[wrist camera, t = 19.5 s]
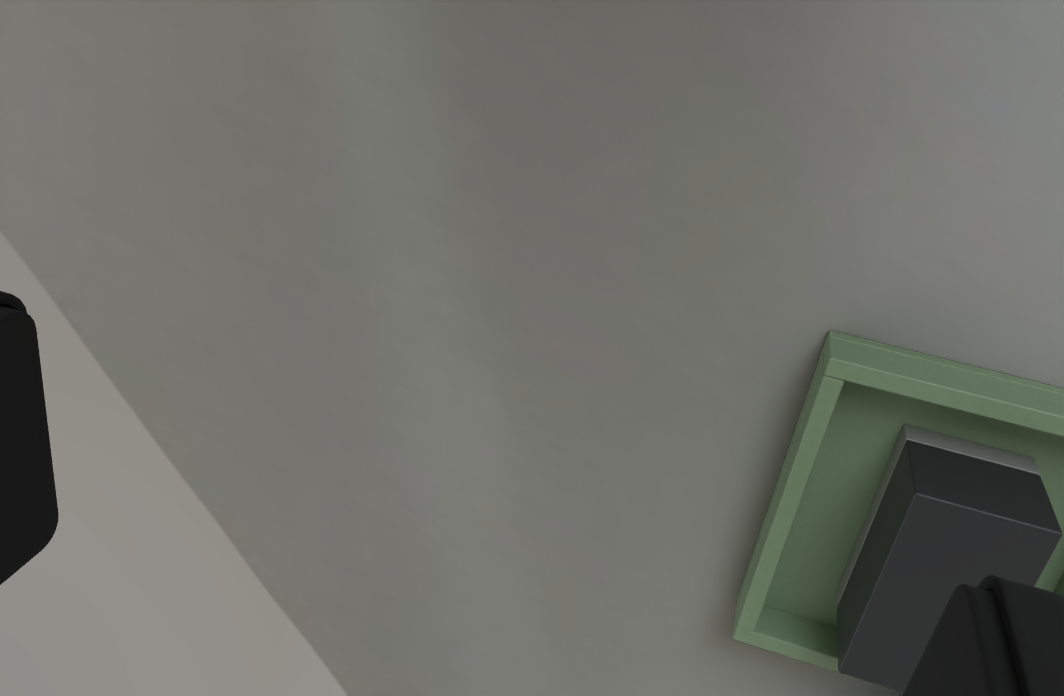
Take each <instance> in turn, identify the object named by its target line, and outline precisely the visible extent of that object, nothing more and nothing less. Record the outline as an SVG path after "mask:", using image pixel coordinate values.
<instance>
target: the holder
mask: <svg viewBox="0 0 1064 696" xmlns="http://www.w3.org/2000/svg"><path fill="white" fill-rule="evenodd" d="M904 424H907V425H911V426H914V427H918V428H922V429H926V430H930V431H934V432H937V433H941V434H945V435H949V436H953V437H956V438H960V439H964V440H968V441H972V442H975V443H979V444H983V445H987V446H991V447H994V448H998V449H1002V450H1006V451H1010V452H1013V453H1017V454H1021V455H1025V456H1029V457H1032V458H1034V459H1035V462H1036V464H1037V467H1038V469H1039V472H1040V476H1041V479H1042V481H1043V484H1044V486H1045V489H1046V492H1047V494H1048V497H1049V499H1050V502H1051V504H1052V507H1053V510H1054V512H1055V515H1056V517H1057V520H1058V522H1059V525H1060V528H1061V530H1062V533H1063V535H1062V537H1061V539H1060V540H1059V542H1058V544H1057V546H1056V548H1055V550H1054V551H1053V553H1052V555H1051V557H1050V559H1049V561H1048V563H1047V564H1046V566H1045V568H1044V570H1043V572H1042V574H1041V575H1040V577H1039V579H1038V581H1037V583H1036V585H1035V587H1037V588H1040V589H1044V590H1047V591H1051V592H1054V593H1058V594H1059V595H1061V596H1062V597H1064V389H1063V388H1059V387H1055V386H1051V385H1047V384H1043V383H1039V382H1035V381H1031V380H1027V379H1023V378H1019V377H1015V376H1011V375H1007V374H1003V373H999V372H995V371H991V370H987V369H983V368H979V367H975V366H971V365H967V364H963V363H959V362H955V361H951V360H947V359H943V358H939V357H935V356H931V355H927V354H923V353H919V352H915V351H911V350H907V349H903V348H899V347H895V346H891V345H887V344H883V343H879V342H875V341H871V340H867V339H863V338H859V337H855V336H851V335H847V334H843V333H839V332H835V331H829V332H828V335H827V338H826V341H825V344H824V347H823V349H822V352H821V355H820V358H819V361H818V364H817V367H816V370H815V373H814V376H813V379H812V382H811V385H810V388H809V391H808V393H807V396H806V399H805V402H804V405H803V408H802V411H801V414H800V417H799V420H798V423H797V426H796V429H795V432H794V434H793V437H792V440H791V443H790V446H789V449H788V452H787V455H786V458H785V461H784V464H783V467H782V470H781V473H780V475H779V478H778V481H777V484H776V487H775V490H774V493H773V496H772V499H771V502H770V505H769V508H768V511H767V514H766V517H765V519H764V522H763V525H762V528H761V531H760V534H759V537H758V540H757V543H756V546H755V549H754V552H753V555H752V558H751V560H750V563H749V566H748V569H747V572H746V575H745V578H744V581H743V584H742V587H741V590H740V593H739V596H738V599H737V602H736V611H735V619H734V628H733V639H734V640H737V641H740V642H743V643H746V644H750V645H753V646H756V647H759V648H762V649H766V650H769V651H772V652H775V653H778V654H782V655H785V656H788V657H791V658H794V659H798V660H801V661H804V662H807V663H810V664H814V665H817V666H820V667H823V668H826V669H830V670H833V671H836V672H839V671H838V642H837V609H836V589H837V587H838V584H839V582H840V579H841V577H842V574H843V572H844V570H845V567H846V565H847V562H848V560H849V557H850V555H851V552H852V550H853V547H854V545H855V543H856V540H857V538H858V535H859V533H860V530H861V528H862V525H863V523H864V520H865V518H866V515H867V513H868V511H869V508H870V506H871V503H872V501H873V498H874V496H875V493H876V491H877V488H878V486H879V483H880V481H881V479H882V476H883V474H884V471H885V469H886V466H887V464H888V461H889V459H890V456H891V454H892V452H893V449H894V447H895V444H896V442H897V439H898V437H899V434H900V432H901V429H902V427H903V425H904ZM839 673H840V672H839ZM842 674H843V673H842ZM852 677H853V676H852ZM855 678H856V677H855ZM858 679H859V678H858ZM868 682H869V681H868ZM871 683H872V682H871ZM874 684H875V683H874ZM884 687H885V686H884ZM887 688H888V687H887ZM897 691H898V690H897ZM900 692H901V691H900ZM903 693H904V692H903Z"/></svg>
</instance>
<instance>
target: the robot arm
mask: <svg viewBox="0 0 1064 696" xmlns="http://www.w3.org/2000/svg"><path fill="white" fill-rule="evenodd" d="M57 523H58V507H57V499H56V490H55V482H54V474H53V467H52V457H51V449H50V441H49V432H48V423H47V415H46V407H45V399H44V391H43V381H42V373H41V365H40V356H39V349H38V339H37V331H36V326H35V323H34V320H33V319H32V318H31V316H30V315H28V314H27V311H26V308H25V306H24V304H23V303H22V301H21V300H20V299H19V298H17V297H15V296H14V295H12V294H9V293H5V292H2V291H0V585H1V584H2V583H3V582H4V581H6V580H7V579H8V578H9V577H10V576H12V575H13V574H14V573H15V572H16V571H18V570H19V569H20V568H21V567H22V566H23V565H25V564H26V563H27V562H28V561H29V560H31V559H32V558H33V557H34V556H35V555H37V554H38V553H39V552H40V551H41V550H42V549H43V548H44V547H45V546H46V545H47V544H48V543H49V541H50V540H51V538H52V537H53V535H54V532H55V530H56V527H57ZM903 696H1064V597H1062V596H1061V595H1059V594H1058V593H1054V592H1051V591H1047V590H1044V589H1040V588H1037V587H1033V586H1030V585H1026V584H1023V583H1019V582H1016V581H1012V580H1009V579H1005V578H1002V577H998V576H995V575H990V576H986V577H985V578H984V579H983V580H982V581H981V582H980V583H979V585H978V587H977V588H976V587H973V586H969V585H966V584H961V585H959V586H958V587H957V588H956V589H955V590H954V592H953V594H952V595H951V597H950V599H949V601H948V603H947V605H946V607H945V609H944V612H943V614H942V616H941V618H940V620H939V622H938V624H937V626H936V628H935V630H934V632H933V634H932V636H931V638H930V640H929V642H928V644H927V646H926V648H925V650H924V653H923V655H922V657H921V659H920V661H919V663H918V665H917V667H916V669H915V671H914V673H913V675H912V677H911V679H910V681H909V683H908V685H907V687H906V689H905V692H904V694H903Z"/></svg>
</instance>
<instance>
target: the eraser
mask: <svg viewBox="0 0 1064 696" xmlns="http://www.w3.org/2000/svg"><path fill="white" fill-rule="evenodd" d="M1062 535H1063V533H1062V530H1061V528H1060V525H1059V522H1058V520H1057V517H1056V515H1055V512H1054V510H1053V507H1052V504H1051V502H1050V499H1049V497H1048V494H1047V492H1046V489H1045V486H1044V484H1043V481H1042V479H1041V476H1040V472H1039V469H1038V467H1037V464H1036V462H1035V459H1034V458H1032V457H1029V456H1025V455H1021V454H1017V453H1013V452H1010V451H1006V450H1002V449H998V448H994V447H991V446H987V445H983V444H979V443H975V442H972V441H968V440H964V439H960V438H956V437H953V436H949V435H945V434H941V433H937V432H934V431H930V430H926V429H922V428H918V427H914V426H911V425H907V424H904V425H903V427H902V429H901V432H900V434H899V437H898V439H897V442H896V444H895V447H894V449H893V452H892V454H891V456H890V459H889V461H888V464H887V466H886V469H885V471H884V474H883V476H882V479H881V481H880V483H879V486H878V488H877V491H876V493H875V496H874V498H873V501H872V503H871V506H870V508H869V511H868V513H867V515H866V518H865V520H864V523H863V525H862V528H861V530H860V533H859V535H858V538H857V540H856V543H855V545H854V547H853V550H852V552H851V555H850V557H849V560H848V562H847V565H846V567H845V570H844V572H843V574H842V577H841V579H840V582H839V584H838V587H837V589H836V609H837V642H838V671H839V672H840V673H843V674H846V675H849V676H853V677H856V678H859V679H862V680H865V681H869V682H872V683H875V684H878V685H881V686H885V687H888V688H891V689H894V690H898V691H901V692H905V689H906V687H907V685H908V683H909V681H910V679H911V677H912V675H913V673H914V671H915V669H916V667H917V665H918V663H919V661H920V659H921V657H922V655H923V653H924V650H925V648H926V646H927V644H928V642H929V640H930V638H931V636H932V634H933V632H934V630H935V628H936V626H937V624H938V622H939V620H940V618H941V616H942V614H943V612H944V609H945V607H946V605H947V603H948V601H949V599H950V597H951V595H952V594H953V592H954V590H955V589H956V588H957V587H958V586H959V585H961V584H966V585H969V586H973V587H976V588H977V587H978V585H979V583H980V582H981V581H982V580H983V579H984V578H985V577H986V576H990V575H995V576H998V577H1002V578H1005V579H1009V580H1012V581H1016V582H1019V583H1023V584H1026V585H1030V586H1033V587H1035V585H1036V583H1037V581H1038V579H1039V577H1040V575H1041V574H1042V572H1043V570H1044V568H1045V566H1046V564H1047V563H1048V561H1049V559H1050V557H1051V555H1052V553H1053V551H1054V550H1055V548H1056V546H1057V544H1058V542H1059V540H1060V539H1061V537H1062Z"/></svg>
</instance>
